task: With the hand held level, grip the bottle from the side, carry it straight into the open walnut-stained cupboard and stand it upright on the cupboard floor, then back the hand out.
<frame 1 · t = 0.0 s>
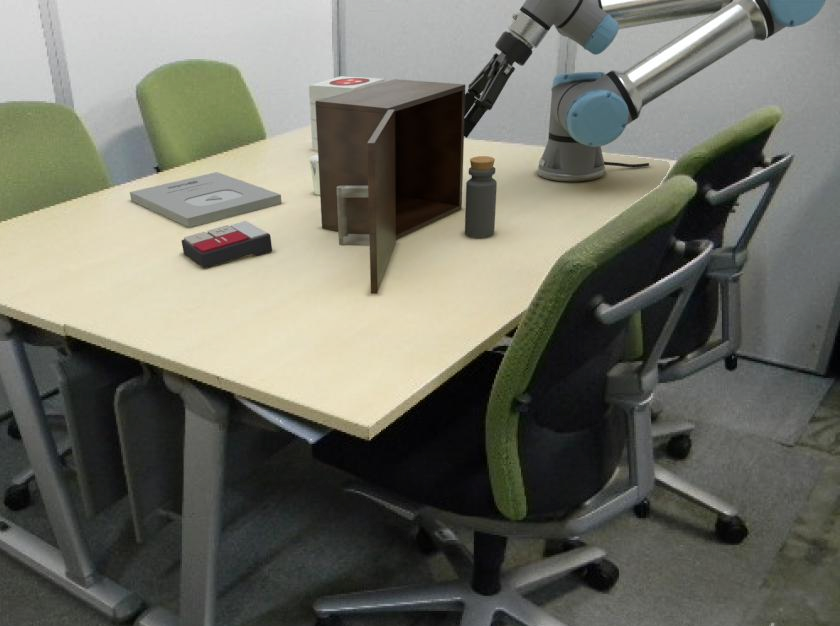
hand: (457, 127, 188), 15 cm above the table, tool tilted 35°, fingers open, 13 cm apart
award plaque: (204, 202, 204), on the table
milkshake: (321, 193, 205), on the table
bottle: (479, 235, 172), on the table
cupboard: (392, 218, 184), on the table
pizza boxes: (360, 153, 237), on the table
cupboard door: (367, 198, 153), point 13 cm above the table, hinge at 150.0°
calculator: (227, 254, 172), on the table
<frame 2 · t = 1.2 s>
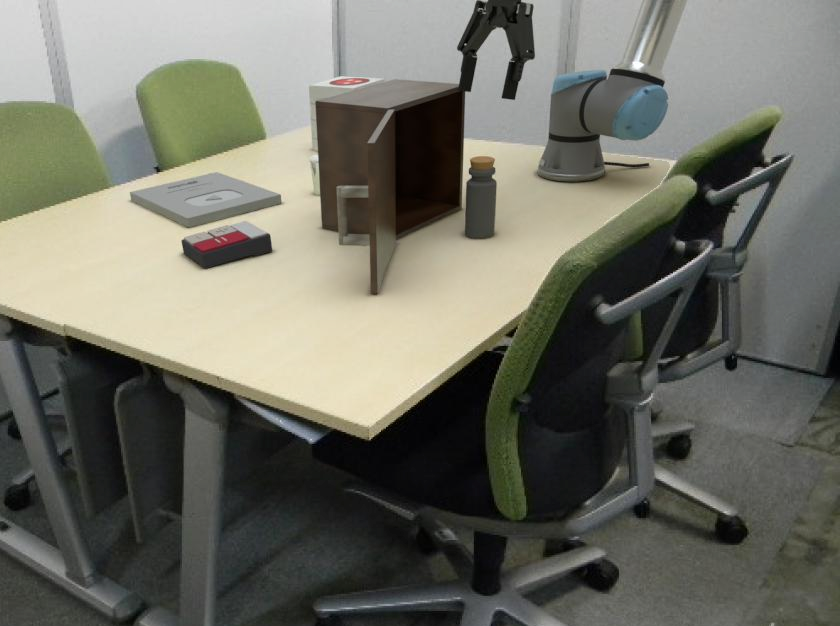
hand: (485, 95, 165), 25 cm above the table, tool pointing down, fingers open, 12 cm apart
nothing on the table moved.
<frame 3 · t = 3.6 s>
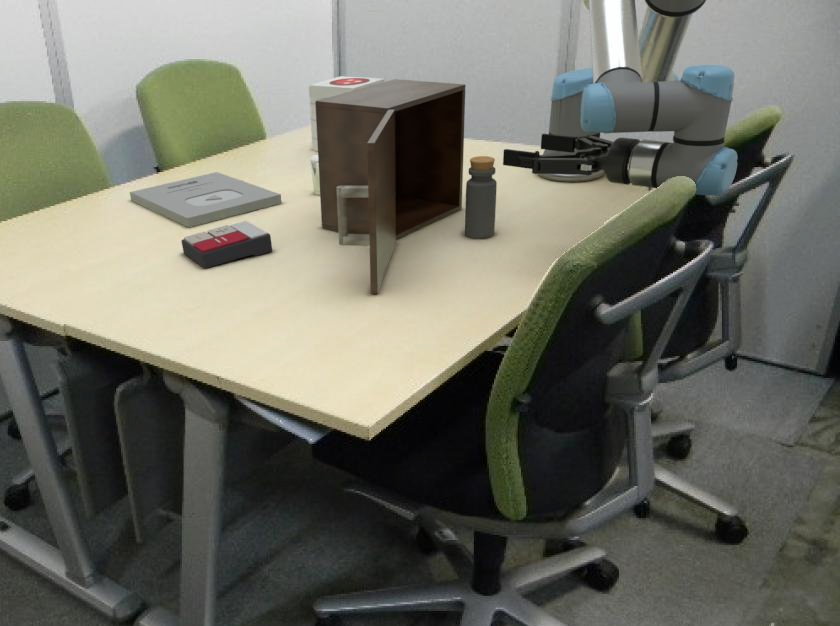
hand: (523, 148, 157), 18 cm above the table, tool horizontal, fingers open, 13 cm apart
nothing on the table moved.
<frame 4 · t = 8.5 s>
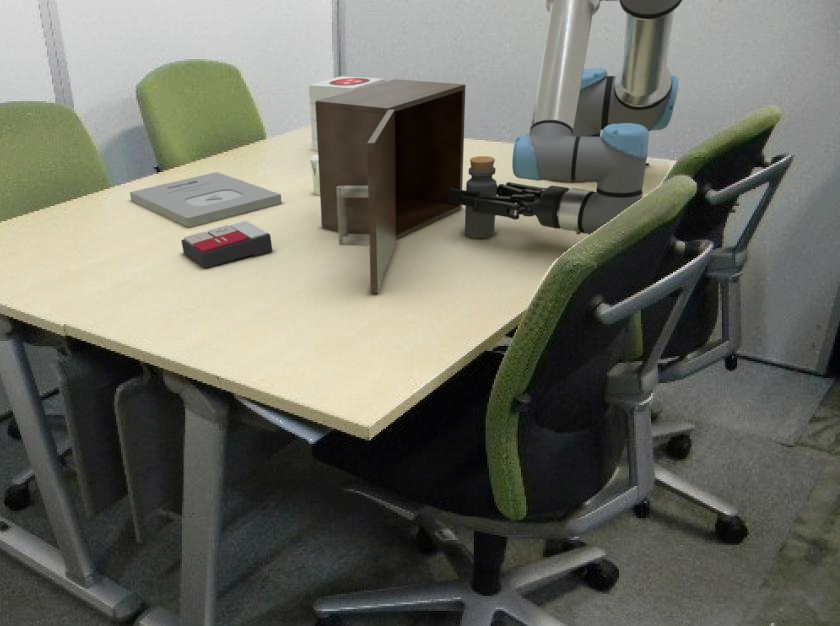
hand: (458, 191, 171), 8 cm above the table, tool horizontal, fingers closed on bottle, 6 cm apart
bottle: (479, 235, 172), on the table, touching gripper
everything else where it was.
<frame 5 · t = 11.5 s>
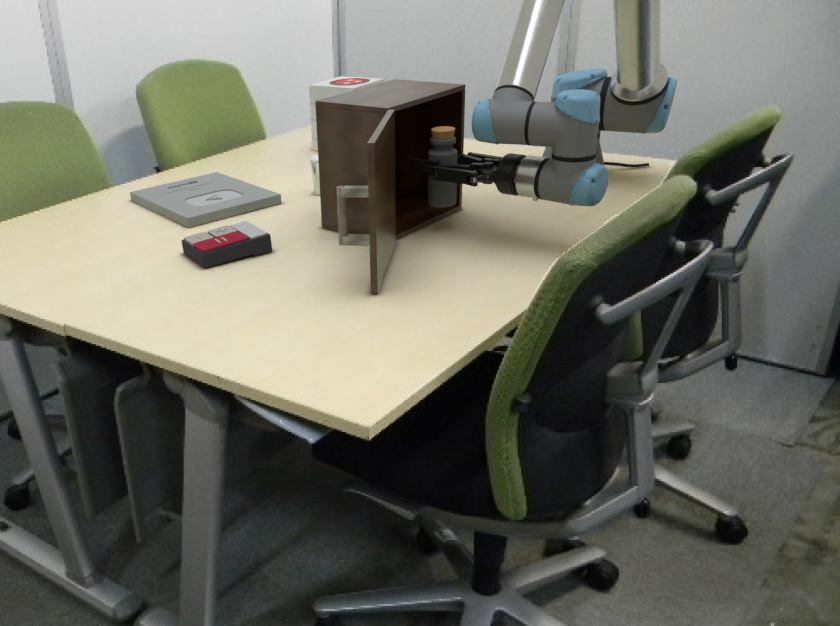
hand: (421, 161, 174), 13 cm above the table, tool horizontal, fingers closed on bottle, 6 cm apart
bottle: (441, 204, 175), point 5 cm above the table, touching gripper
everything else where it was.
when the fingers open (9 cm above the table, at t = 15.0 s): bottle stays where it is, resting on cupboard.
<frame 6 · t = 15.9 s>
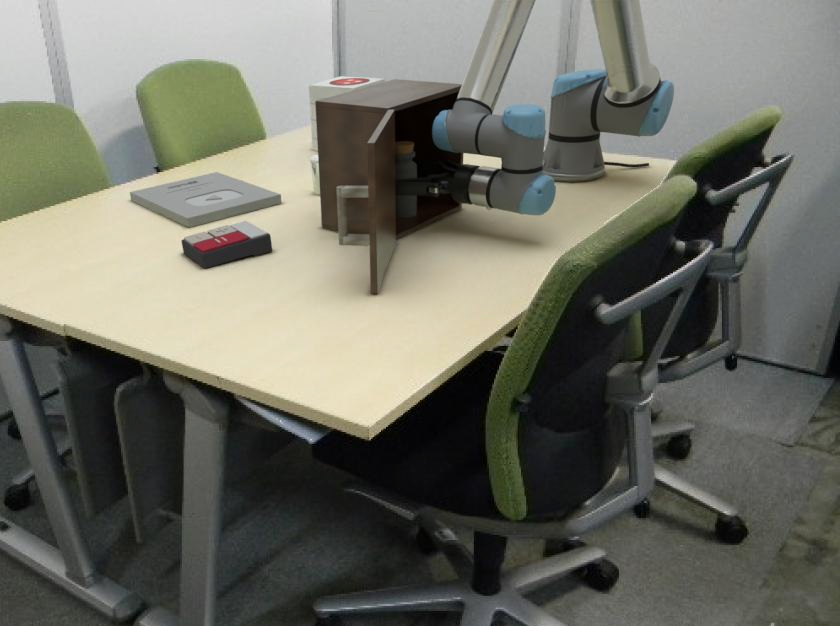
hand: (390, 172, 180), 10 cm above the table, tool horizontal, fingers open, 13 cm apart
bottle: (403, 215, 183), point 1 cm above the table, touching cupboard
everything else where it was.
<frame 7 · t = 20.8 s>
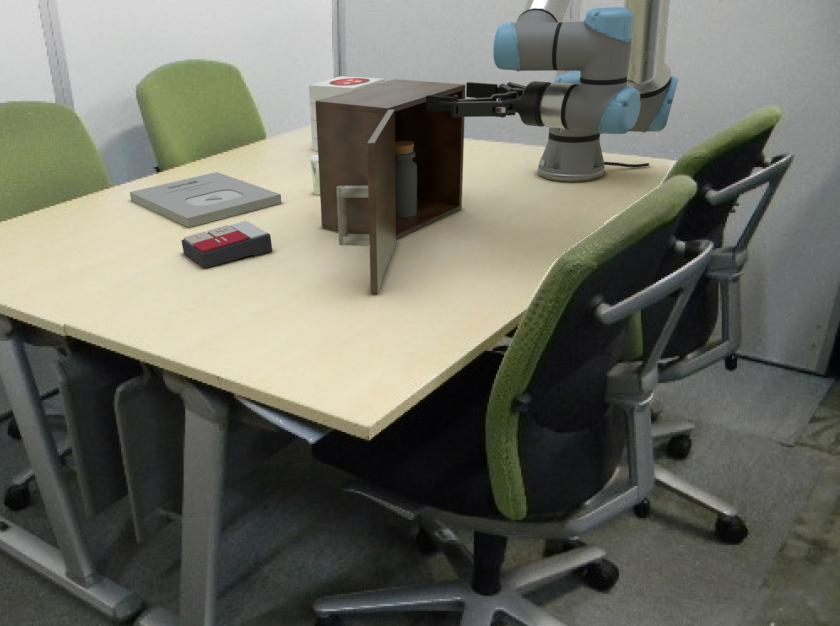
hand: (447, 96, 164), 26 cm above the table, tool horizontal, fingers open, 13 cm apart
nothing on the table moved.
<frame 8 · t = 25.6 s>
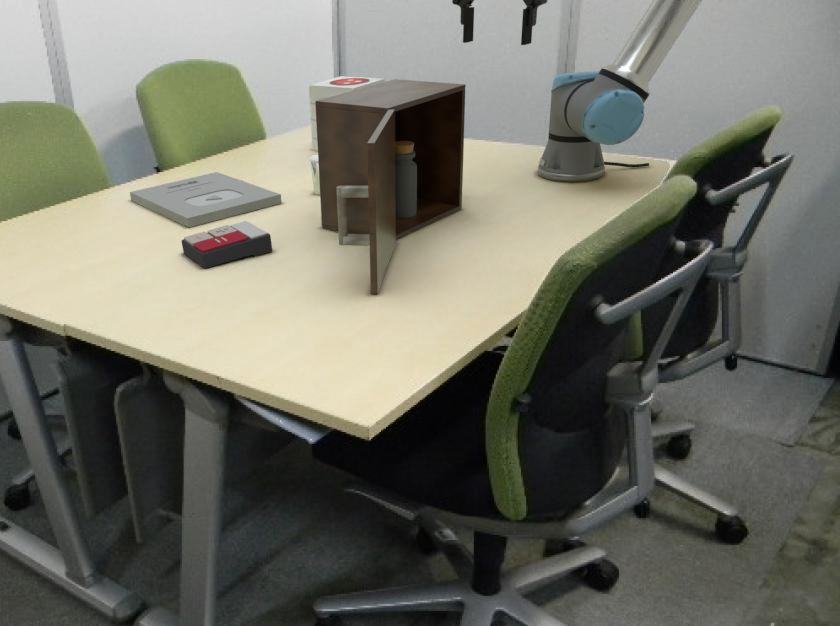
hand: (496, 43, 175), 33 cm above the table, tool pointing down, fingers open, 13 cm apart
nothing on the table moved.
at the end: bottle inside the target area in the cupboard (0.0 cm from its centre), point 0.8 cm above the cupboard's base; bottle tilted 0°; the gripper is holding nothing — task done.
